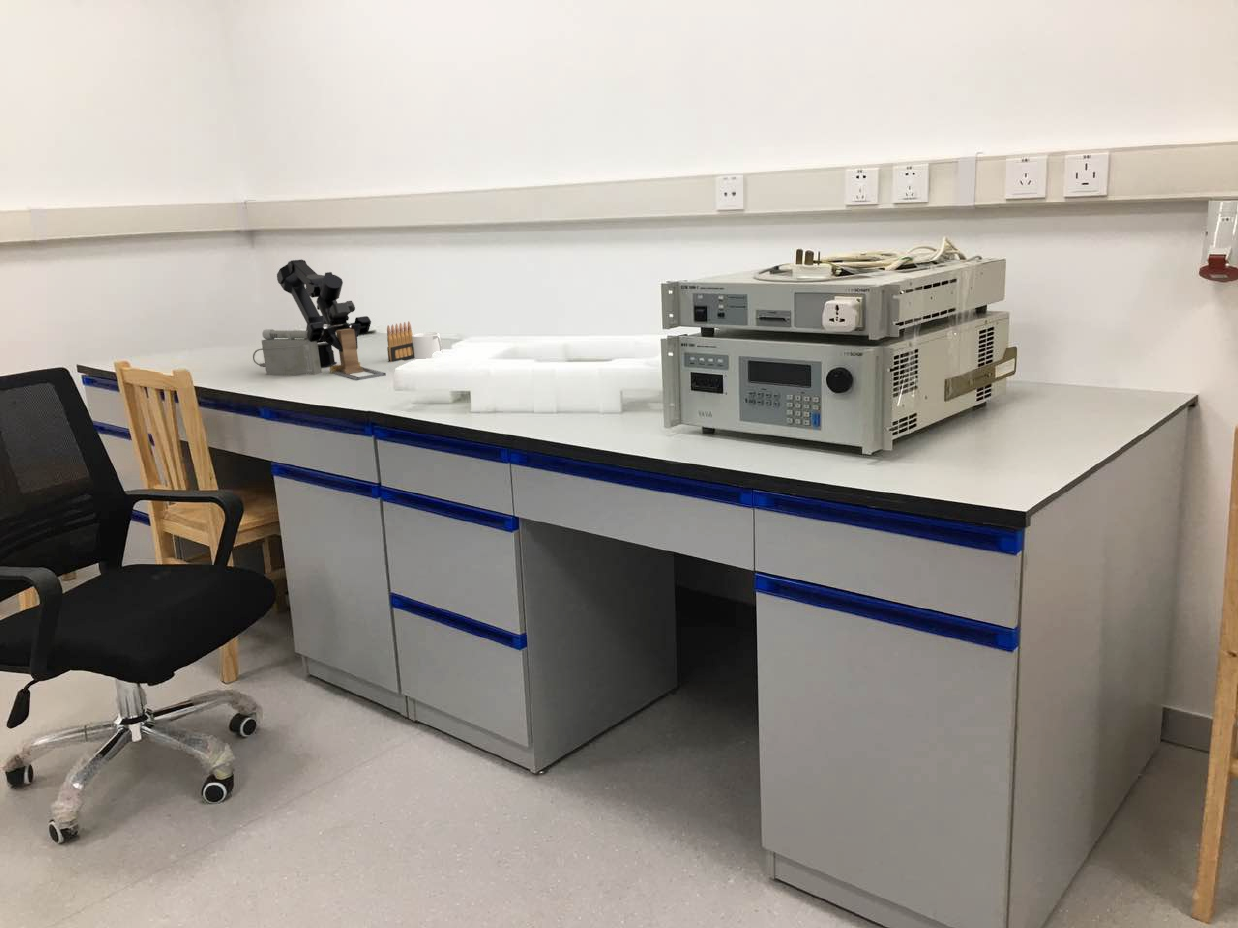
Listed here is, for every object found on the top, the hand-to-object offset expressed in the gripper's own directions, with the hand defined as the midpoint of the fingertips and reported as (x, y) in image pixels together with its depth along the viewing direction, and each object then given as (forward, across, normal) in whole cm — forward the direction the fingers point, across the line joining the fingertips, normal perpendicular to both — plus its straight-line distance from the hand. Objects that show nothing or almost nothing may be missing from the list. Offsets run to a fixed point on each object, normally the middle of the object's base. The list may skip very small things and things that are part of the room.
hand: (349, 349), depth 302 cm
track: (+8, 0, +2) cm, 8 cm away
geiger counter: (-8, -14, +18) cm, 24 cm away
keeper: (+4, 0, +6) cm, 7 cm away
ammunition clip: (-2, +21, +13) cm, 25 cm away
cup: (+14, +21, -3) cm, 25 cm away
